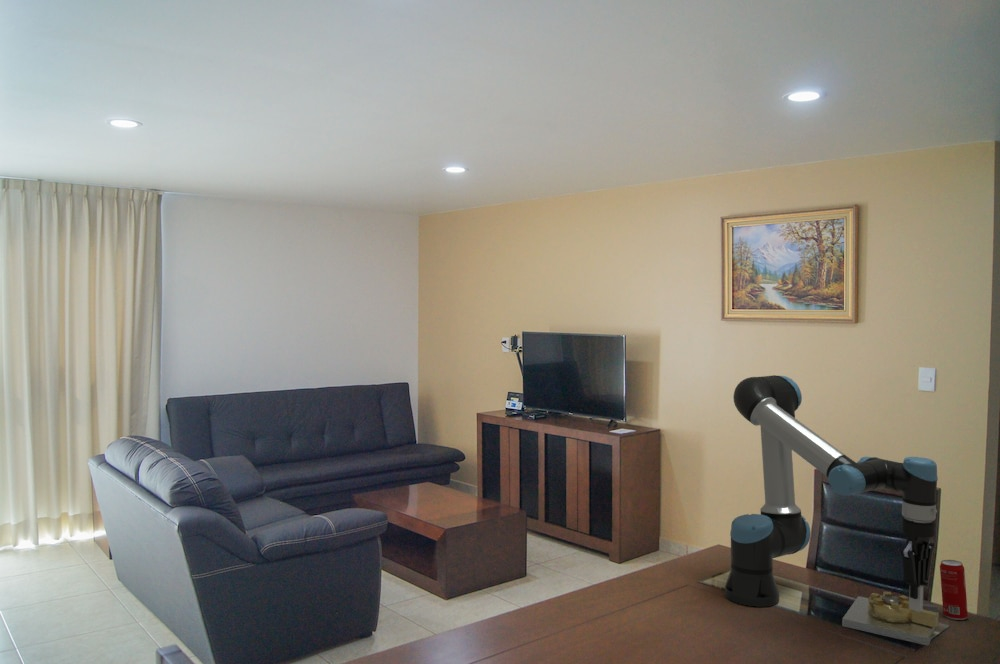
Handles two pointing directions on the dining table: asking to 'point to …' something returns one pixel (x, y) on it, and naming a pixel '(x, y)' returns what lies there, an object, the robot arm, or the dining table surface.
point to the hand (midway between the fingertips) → (915, 609)
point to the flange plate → (888, 624)
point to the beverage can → (953, 589)
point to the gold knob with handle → (898, 610)
